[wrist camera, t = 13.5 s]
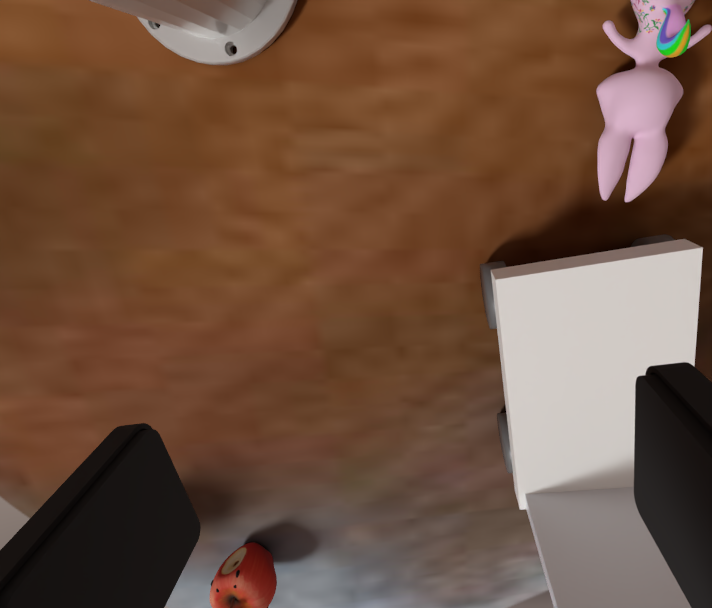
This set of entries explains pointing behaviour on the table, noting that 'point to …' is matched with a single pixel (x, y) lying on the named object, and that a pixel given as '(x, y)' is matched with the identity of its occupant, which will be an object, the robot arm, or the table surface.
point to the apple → (245, 579)
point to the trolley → (590, 407)
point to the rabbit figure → (642, 95)
